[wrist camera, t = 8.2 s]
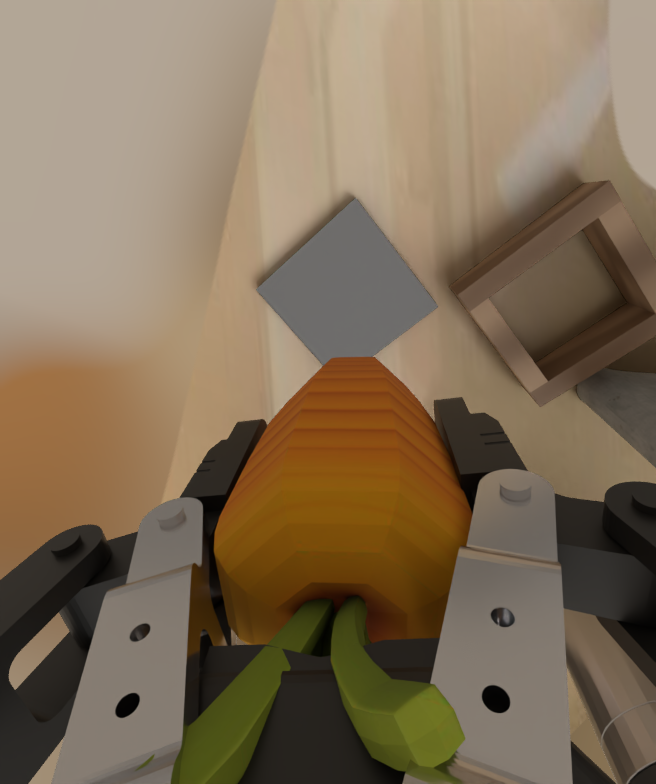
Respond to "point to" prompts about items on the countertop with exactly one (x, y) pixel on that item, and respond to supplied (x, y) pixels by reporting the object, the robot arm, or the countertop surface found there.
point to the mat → (347, 289)
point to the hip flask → (625, 406)
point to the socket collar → (565, 219)
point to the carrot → (338, 566)
